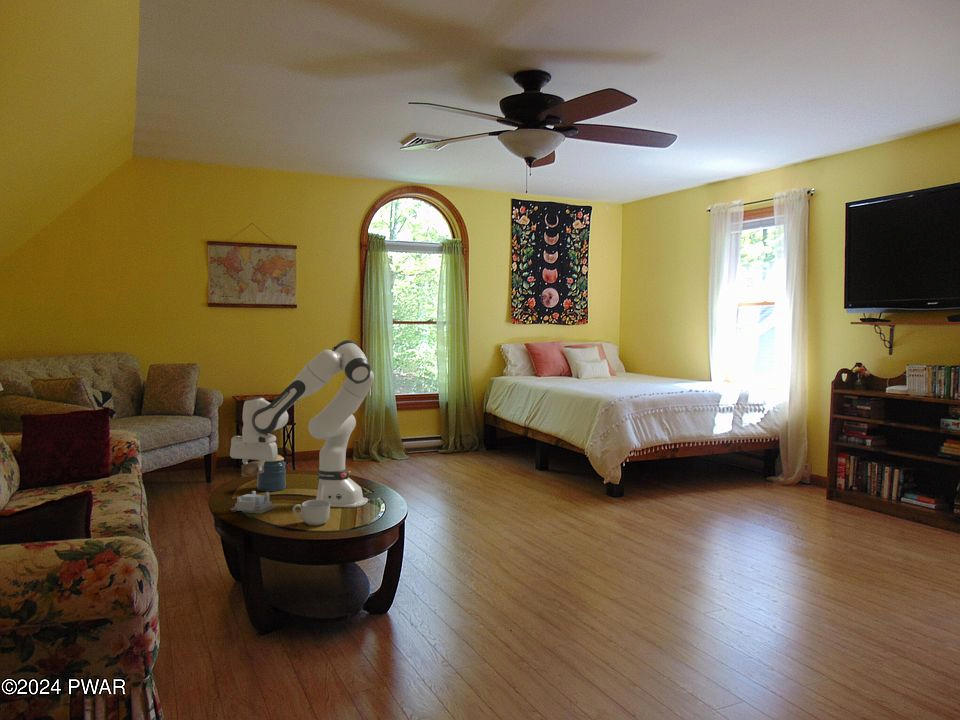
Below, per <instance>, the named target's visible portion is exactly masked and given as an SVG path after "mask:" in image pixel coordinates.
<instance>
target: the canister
mask: <svg viewBox="0 0 960 720" xmlns="http://www.w3.org/2000/svg"><path fill="white" fill-rule="evenodd" d="M284 460H285V457H283V456H282V455H280V454H278V455H277V459H276V460H273V461H265V462H264V472H263V473H260V474H258V475H256V477H257V478H256V479H257V481H256V482H257V483H256V488H257V490H258V491H259V492H278V491H282V490H284V489H286V487H287V482H286V479H287V477H286V476H287V475H286V473H287V472H286V471H287V470H286V465H287V462H286V461H284Z"/></svg>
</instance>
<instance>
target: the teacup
mask: <svg viewBox="0 0 960 720" xmlns="http://www.w3.org/2000/svg"><path fill="white" fill-rule="evenodd" d="M296 508H300V509H299V510H300V512H301V514H300V513H298V512H297V511H296V510H297V509H296ZM292 513H293V514H294V515H295V516H296V517H299V518H300V519H301V520H302V521H303V522H304V523H306V525H309V526H321V525H323V524H325V523H326V522H328V520H329V519H330V515H331V507H330V502H329V501H326V500H316V499H309V500H308V499H307V500H305V501H303V502H302V503H301V504H300V503H299V504H298V503H297V504H295V505H293V507H292Z"/></svg>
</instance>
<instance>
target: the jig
mask: <svg viewBox="0 0 960 720" xmlns="http://www.w3.org/2000/svg"><path fill="white" fill-rule="evenodd" d="M251 494H253V495H257V491H256V490H252V491H251ZM276 506H277V505H276V504H273V503H272V501H270V491H265V495H264V504H262V505H255V498H251V501H241V496H236V503H234V506H233V507H231V508H229V510H237V511H242V512H241V513H246V514H247V513H248V514H260V515H262V514H263V513H266V512H268V511H270V510H273V509H275V508H277V507H276Z"/></svg>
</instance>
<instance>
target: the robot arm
mask: <svg viewBox="0 0 960 720" xmlns="http://www.w3.org/2000/svg"><path fill="white" fill-rule="evenodd" d="M342 371H343V373H344V375H345V377H346V378H345V380H344V381H343V383H342V385H341V386H340V387H339V390H338V391H337V392H336V394H335V395H334V396H333V398H332V400H331V401H329V402H328V404H327V405H325V407H324V408H323V409H322V410H321V411H320V412H319V413H317V414H316V415H314V416H313V417H312V418H311V419H310V420H309V422H308V425H307V426H308V432H309V434H310V435H311V437H312V438H314V439H316V440H325V441H324V444H323V446H322V447H321V448H320V451H319V453H318V454H319V456H318V457H319V459H318V460H319V462H318V463H319V464H318V465H319V469H318V473H317V479H318V488H317V494H316V496H315V497H316V498H315V500H326V501H329V502H330V508H331V507H332V508H358V507H361V506H364V505H365V504H367V503H368V501H369V499H368V498H367V497H364V495H363V490H362V487H361V486H360V485H359V484H358V483H356V482H355V481H354V480H353V479H351V478H350V474H351V470H349V471H348V470H347V468H346V459H347V458H346V457H347V456H346V454H347V448H348V444H349V439H350V437H351V434H352V433H353V431H354V429H355V428H356V426H357V420H356V417H355V416H354V415H353V414H355V413H356V412H357V410H358V409H359V408H360V407H361V404H362V403H363V402H364V400H365V399H366V397H367V395H368V394H369V392H370V389H371V388H372V386H373V382H374V381H375V374H374V372H373V370H371V364H370V362H369V360H368V358H367V356H366V355H365V353H364V352H363V350H362V349H361V348H360V345H358V344H357V343H356V342H355V341H354V340H352V339H351V340H350V339H347V340H346V339H345V340H342V341H340V342H338V343H337V344H336V345H335V346H333V347H332V349H324V350H322V351H321V352H319V353H318V354H317V355H315V356H314V357H312V359H311V360H309V362H308V363H306V365H305V366H304V367H303V368H302V369H301V370H300V371H299V372H298V374H297V375H296V376H295V378H294V379H293V380H292V381H291V383H289V385H288V386H287V387H286V388H285V389H284V390H283V391H282V392H281V393H280V394H279V395H277V396H276V397H275V399H273V400H272V401H271V402H269V401H268V400H266V399H265V398H264V397H262V396H261V397H260V396H259V397H254V398H253V397H251V398H249V399H246V400H244V403H243V407H242V422H243V425H242V428H241V429H242V432H241V433H242V435H233V436H232V437H231V440H230V451H229V456H230V458H231V459H239V460H241V459H242V461H241V462H242V463H243V464H242V465H244V464H247V463H249V462H248V461H249V460H252V461H254V460H255V461H259V463H260V464H259V466H257V467H256V468H257V469H256V470H257V471H261V470H262V466H263V464H264V462H265V461H273V460H276V459H277V455H279V454H278V453H279V452H278V445H277V443H276V441H277V436H275V435H274V434H272V432H274V431H277V430H279V429H282V428H284V427H285V426H286V425H287V424H288V422H289V416H290V415H289V413H288V411H287V410H289V408H291V407H292V406H293V405H294V404H295V403H296V402H297V401H299V400H300V399H303V398H306V397H308V396H310V395H312V394H315V393H317V392H318V391H320V390H321V389H323V387H324V386H326V385H327V383H329V381H331V379H332V378H333V377H334V376H335V375H336V374H339V373H340V372H342Z"/></svg>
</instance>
